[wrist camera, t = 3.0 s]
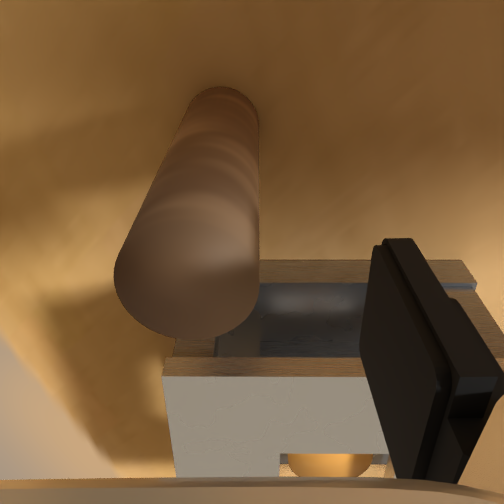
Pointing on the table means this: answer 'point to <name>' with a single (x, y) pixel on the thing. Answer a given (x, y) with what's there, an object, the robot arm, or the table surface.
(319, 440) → the box
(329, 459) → the button
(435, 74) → the table surface
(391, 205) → the table surface
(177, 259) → the dowel
